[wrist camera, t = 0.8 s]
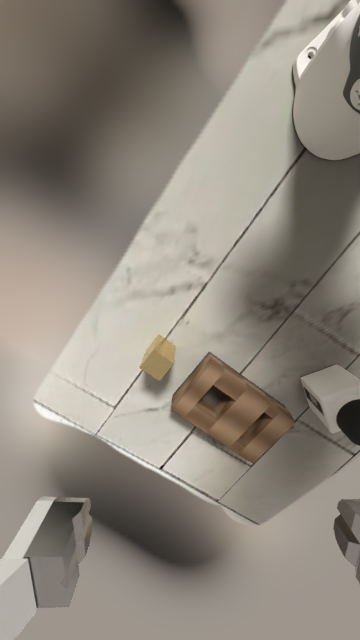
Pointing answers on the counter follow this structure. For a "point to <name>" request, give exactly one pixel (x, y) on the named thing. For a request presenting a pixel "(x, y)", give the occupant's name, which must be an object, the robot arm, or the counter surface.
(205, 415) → the walnut socket block
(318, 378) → the container
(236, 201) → the counter surface
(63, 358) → the counter surface
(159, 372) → the light wooden square bit
